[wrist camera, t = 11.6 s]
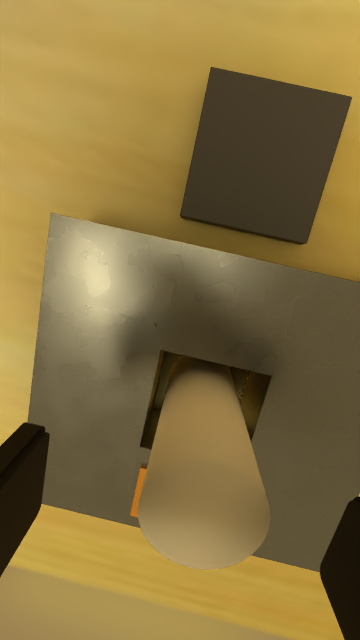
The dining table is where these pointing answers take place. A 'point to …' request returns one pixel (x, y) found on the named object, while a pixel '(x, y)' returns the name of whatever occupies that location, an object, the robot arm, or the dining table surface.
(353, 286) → the block
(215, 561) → the peg
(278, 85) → the pad
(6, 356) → the dining table surface
